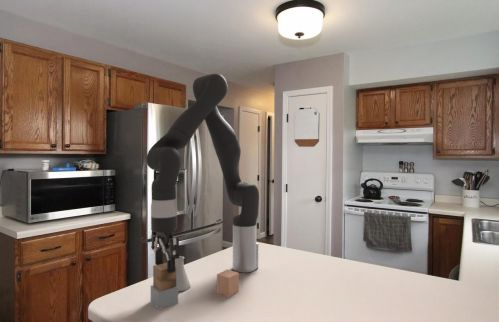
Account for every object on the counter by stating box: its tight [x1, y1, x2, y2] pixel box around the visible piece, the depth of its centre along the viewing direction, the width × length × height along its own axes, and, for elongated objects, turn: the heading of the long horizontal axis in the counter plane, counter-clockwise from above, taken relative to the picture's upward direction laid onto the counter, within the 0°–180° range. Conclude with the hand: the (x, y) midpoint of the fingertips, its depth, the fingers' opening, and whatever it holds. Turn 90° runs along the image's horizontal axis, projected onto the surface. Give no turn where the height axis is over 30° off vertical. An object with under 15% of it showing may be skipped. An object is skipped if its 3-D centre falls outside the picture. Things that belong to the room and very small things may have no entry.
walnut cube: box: [152, 262, 176, 291], centre depth 92 cm, size 5×5×6 cm
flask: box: [175, 255, 191, 292], centre depth 103 cm, size 7×7×10 cm
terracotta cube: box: [216, 269, 240, 298], centre depth 100 cm, size 5×5×6 cm
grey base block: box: [150, 284, 179, 310], centre depth 93 cm, size 6×6×5 cm
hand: (165, 268), depth 93 cm, fingers open, 8 cm apart
